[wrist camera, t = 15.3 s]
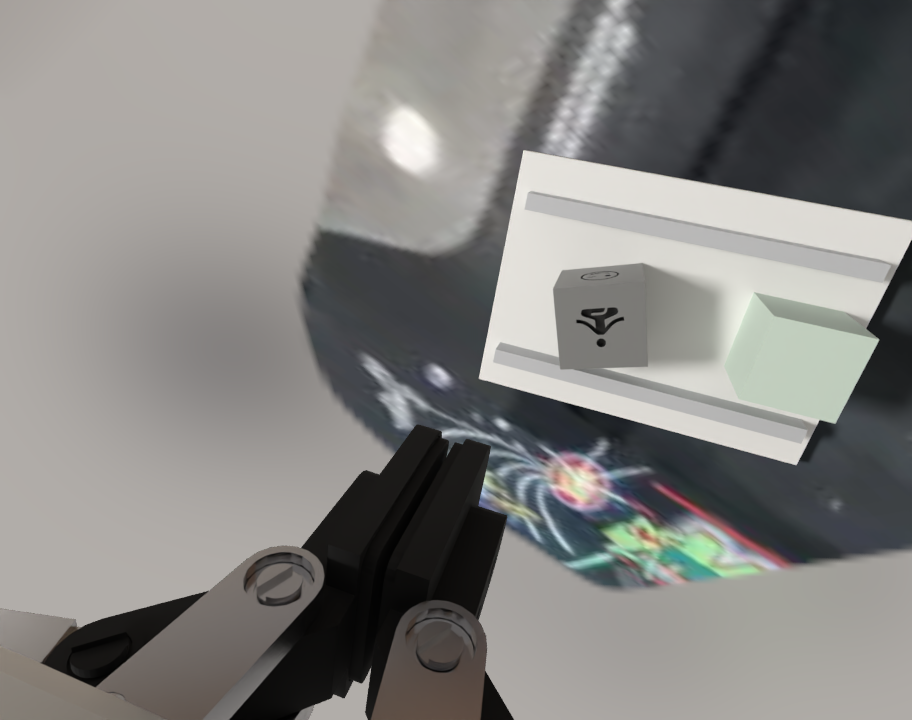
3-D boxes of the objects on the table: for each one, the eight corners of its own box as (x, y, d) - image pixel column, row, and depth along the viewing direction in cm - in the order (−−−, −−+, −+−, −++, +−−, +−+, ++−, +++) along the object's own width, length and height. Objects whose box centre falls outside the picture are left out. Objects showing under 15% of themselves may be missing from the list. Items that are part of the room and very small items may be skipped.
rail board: (911, 220, 30) (973, 237, 25) (792, 457, 37) (820, 511, 31) (526, 149, 34) (507, 151, 29) (482, 373, 41) (460, 408, 35)
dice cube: (642, 263, 34) (645, 281, 29) (644, 338, 35) (647, 366, 31) (561, 270, 35) (552, 289, 31) (567, 342, 37) (560, 369, 33)
